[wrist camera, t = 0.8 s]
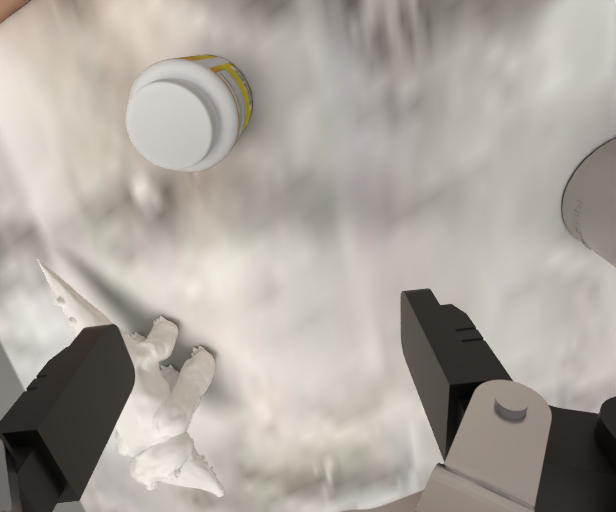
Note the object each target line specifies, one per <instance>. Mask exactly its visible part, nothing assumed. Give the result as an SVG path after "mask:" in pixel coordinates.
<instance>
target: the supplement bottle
mask: <svg viewBox="0 0 616 512" xmlns="http://www.w3.org/2000/svg"><path fill="white" fill-rule="evenodd" d="M252 107H253V100H252V93H251V89H250V87H249V84H248V82H247V80H246V78H245V77H244V75H243V74H242V73H241V71H240V70H239V69H238V68H237V67H236V66H234V65H233V64H232V63H230V62H229V61H227V60H225V59H223V58H221V57H217V56H213V55H199V56H190V57H182V58H174V59H167V60H163V61H160V62H157V63H155V64H153V65H151V66H149V67H148V68H146V69H145V70H144V71H143V72H142V73H141V74H140V75H139V76H138V77H137V79H136V80H135V82H134V84H133V86H132V88H131V91H130V94H129V98H128V106H127V111H126V127H127V131H128V135H129V137H130V140H131V142H132V143H133V145H134V147H135V148H136V149H137V151H138V152H139V153H140V154H141V155H142V156H143V157H144V158H145V159H147V160H148V161H150V162H151V163H153V164H155V165H157V166H159V167H162V168H166V169H171V170H178V171H183V172H196V171H202V170H205V169H208V168H211V167H213V166H214V165H216V164H218V163H219V162H220V161H221V160H223V159H224V158H225V157H226V155H227V154H228V153H229V152H230V150H231V149H232V148H233V146H234V144H235V143H236V141H237V140H238V138H239V137H240V135H241V134H242V132H243V131H244V129H245V128H246V126H247V124H248V122H249V120H250V117H251V114H252Z"/></svg>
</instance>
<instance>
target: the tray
mask: <svg viewBox="0 0 616 512" xmlns="http://www.w3.org/2000/svg"><path fill="white" fill-rule="evenodd" d="M29 1H31V0H0V23H1V22H2V21H4V20H5V19H6V18H8V17H9V16H10V15H12V14H13V13H14V12H16V11H17V10H18V9H20V8H21V7H23V6H24V5H25V4H27V3H28V2H29Z"/></svg>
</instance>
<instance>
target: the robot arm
mask: <svg viewBox="0 0 616 512" xmlns="http://www.w3.org/2000/svg"><path fill="white" fill-rule="evenodd" d="M562 213H563V220H564V222H565V225H566V227H567V229H568V230H569V231H570V233H571V234H572V235H573V236H574V237H575V238H577V239H578V240H580V241H581V242H582V243H583V244H584V245H585V246H586V247H588V248H589V249H592V250H593V251H595V252H596V253H597V254H599V255H600V256H601V257H603V258H604V259H606V260H607V261H608V262H609V263H611V264H612V265H614V266H615V267H616V139H613V140H611V141H609V142H608V143H606V144H605V145H603V146H601V147H600V148H598V149H597V150H596V151H595V152H593V153H592V154H591V155H590V156H589V157H588V158H587V159H585V161H584V162H583V163H582V164H581V165H580V167H579V168H578V169H577V170H576V171H575V173H574V175H573V176H572V178H571V180H570V182H569V183H568V186H567V188H566V191H565V194H564V197H563V204H562ZM401 342H402V349H403V353H404V357H405V360H406V363H407V365H408V368H409V371H410V373H411V376H412V378H413V381H414V384H415V386H416V389H417V391H418V394H419V397H420V399H421V402H422V405H423V407H424V410H425V412H426V415H427V418H428V420H429V423H430V426H431V428H432V431H433V433H434V436H435V439H436V441H437V444H438V446H439V449H440V452H441V454H442V457H443V460H444V464H440V463H438V464H437V465H436V466H435V468H434V469H433V471H432V473H431V475H430V478H429V480H428V482H427V484H426V487H425V489H424V491H423V494H422V496H421V498H420V501H419V503H418V505H417V508H416V510H415V512H616V397H613V398H610V399H608V400H606V401H605V402H604V403H603V404H602V406H601V409H600V412H599V414H597V413H590V412H583V411H576V410H569V409H562V408H557V407H553V406H550V405H548V404H547V402H546V401H545V400H544V399H543V398H542V397H541V396H540V395H539V394H538V393H537V392H536V391H534V390H532V389H531V388H529V387H527V386H525V385H523V384H520V383H517V382H513V380H512V379H511V377H510V376H509V374H508V373H507V372H506V370H505V369H504V367H503V366H502V364H501V363H500V361H499V360H498V359H497V357H496V356H495V354H494V353H493V351H492V350H491V348H490V347H489V346H488V344H487V343H486V341H484V340H483V337H482V335H481V334H480V333H479V331H478V330H476V327H475V325H474V324H473V322H472V321H471V320H470V318H469V317H468V315H467V314H466V313H464V312H463V311H461V310H460V309H458V308H457V307H455V306H454V305H452V304H447V305H440V304H439V303H438V301H437V299H436V298H435V296H434V294H433V293H432V291H431V290H430V289H429V288H428V289H419V290H410V291H402V293H401ZM134 383H135V369H134V365H133V362H132V360H131V357H130V355H129V352H128V350H127V347H126V345H125V342H124V340H123V337H122V335H121V332H120V330H119V328H118V327H117V326H116V325H114V324H109V325H100V326H91V327H85V328H83V329H82V330H81V332H80V333H79V334H78V336H77V337H76V338H75V339H74V341H73V342H72V343H71V345H70V346H69V347H66V348H65V349H64V350H62V351H61V352H60V353H58V354H57V355H56V356H54V357H53V358H52V359H51V360H49V361H48V362H47V364H46V365H45V366H44V367H43V369H42V370H41V371H40V372H39V374H38V375H37V379H34V380H33V381H32V382H31V383H30V385H29V386H28V387H27V391H25V392H23V393H22V395H21V396H20V397H19V398H18V400H17V401H16V402H15V403H14V405H13V406H12V407H11V408H10V410H9V411H8V412H7V413H6V415H5V416H4V417H3V419H2V420H1V421H0V512H52V511H53V510H54V508H55V506H56V504H57V503H62V502H72V501H79V500H80V498H81V496H82V494H83V492H84V490H85V488H86V486H87V483H88V481H89V479H90V477H91V475H92V473H93V471H94V469H95V467H96V465H97V463H98V461H99V458H100V456H101V454H102V452H103V450H104V448H105V446H106V444H107V442H108V440H109V438H110V436H111V433H112V431H113V429H114V427H115V425H116V423H117V421H118V419H119V417H120V415H121V413H122V411H123V408H124V406H125V404H126V402H127V400H128V398H129V396H130V394H131V392H132V390H133V387H134Z"/></svg>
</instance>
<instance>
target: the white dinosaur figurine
mask: <svg viewBox="0 0 616 512" xmlns="http://www.w3.org/2000/svg"><path fill="white" fill-rule="evenodd" d="M36 259H37V261H38V262H39V264H40V267H41V269H42V271H43V273H44V275H45V277H46V279H47V281H48V283H49V285H50V287H51V289H52V291H53V293H54V296H55V297H56V300H55V301H54V304H55V305H56V306H60V307H61V309H62V311H63V313H64V314H65V316H66V318H67V324H68V325H69V326H70V329H71V330H72V332H73V334H74V336H75V338H76V337H77V336H78V334H79V333H80V332H81V330H82V329H83V328H85V327H91V326H100V325H109V324H113V323H111V321H110V320H109V319H108V318H107V317H106V316H105V315H104V314H103V313H102V312H100V311H99V310H98V309H97V308H95V307H94V306H93V305H92V304H90V303H89V302H88V301H87V300H86V299H84V298H83V297H82V296H81V295H80V294H78V293H77V292H76V291H75V290H74V289H73V288H72V287H71V286H70V285H69V284H67V283H66V282H65V281H64V280H62V279H61V278H60V277H59V276H58V275H56V274H55V273H54V272H53V271H52V270H50V269H49V268H48V267H47V266H45V265H44V264H43V263H42V262H41V261H40V260H39V259H38V258H36ZM153 324H154V327H153V328H152V330H151V332H150V334H149V335H148V336H147V338H145V337H144V336H141V335H139V334H138V333H137V332H135V334H133V333H132V334H131V336H129V335H128V334H126V333H125V332H123V331H122V330H121V329H119V330H120V332H121V335H122V337H123V340H124V342H125V345H126V347H127V350H128V352H129V355H130V357H131V360H132V362H133V365H134V369H135V383H134V387H133V390H132V392H131V394H130V396H129V398H128V400H127V402H126V404H125V406H124V408H123V411H122V413H121V415H120V417H119V419H118V421H117V423H116V425H115V428H116V436H115V438H116V441H117V450H118V453H119V454H121V455H128V456H130V457H131V462H130V475H131V476H132V477H133V478H134V479H135V480H136V481H138V482H140V483H141V484H145V487H146V489H147V490H153V489H155V488H156V487H157V485H158V482H159V481H162V482H164V483H168V484H173V485H178V486H183V487H192V488H198V489H202V490H206V491H209V492H212V493H214V494H215V495H217V496H218V497H221V496H223V495H224V491H225V489H224V487H223V485H222V484H221V483H220V481H219V480H218V479H217V478H216V473H215V472H213V467H210V468H209V466H208V461H204V457H205V456H204V455H201V456H200V455H199V454H198V452H197V451H196V449H195V447H194V441H193V439H192V438H191V437H190V435H189V434H188V433H187V432H186V431H187V429H188V427H189V424H190V421H191V419H192V416H193V414H194V412H195V410H196V409H197V407H198V405H199V402H200V400H201V396H202V395H203V394H204V393H205V392H206V390H207V389H208V387H209V385H210V383H211V381H212V379H213V376H214V370H215V367H216V364H215V360H214V358H213V356H212V355H211V354H210V353H209V352H207V351H206V350H205V349H204V348H203V347H201V346H199V349H196V348H194V347H193V353H191V355H192V358H191V359H188V360H187V361H186V362H185V363H184V365H183V367H182V368H181V371H180V373H179V372H178V371H176V370H175V369H174V368H173V367H172V366H171V364H170V365H169V366H168V367H165V366H163V365H161V368H162V370H159V362H160V361H163V360H165V359H167V358H168V357H169V356H170V355H171V353H172V351H173V348H174V345H175V342H176V338H177V335H178V328H177V326H176V325H175V324H174V323H172V322H171V321H167V320H166V319H164V318H163V317H162V316H160V319H158V318H156V321H155V320H154V321H153Z"/></svg>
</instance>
